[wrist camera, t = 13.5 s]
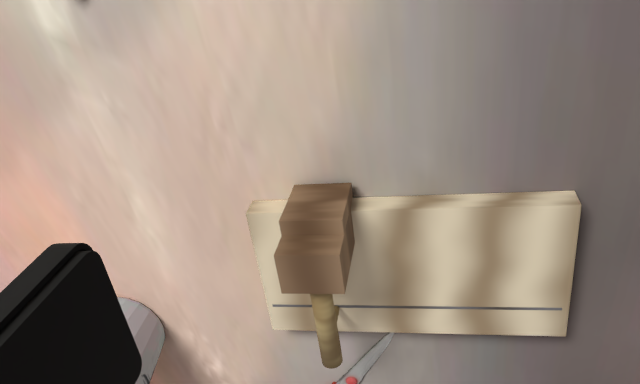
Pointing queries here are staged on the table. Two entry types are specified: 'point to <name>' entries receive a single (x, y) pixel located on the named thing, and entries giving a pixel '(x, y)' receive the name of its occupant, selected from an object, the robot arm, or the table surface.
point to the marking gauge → (318, 255)
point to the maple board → (441, 264)
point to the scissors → (365, 362)
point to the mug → (144, 335)
